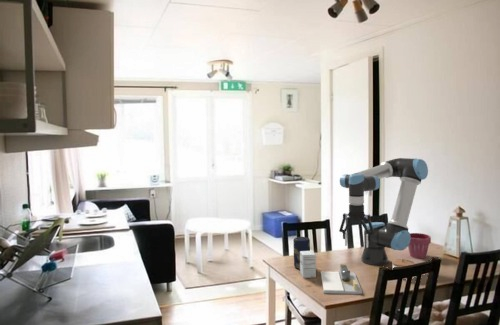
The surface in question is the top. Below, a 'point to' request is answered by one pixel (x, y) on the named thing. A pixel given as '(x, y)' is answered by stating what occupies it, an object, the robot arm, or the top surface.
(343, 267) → the arm
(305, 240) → the canister
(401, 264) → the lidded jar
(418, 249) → the plant pot
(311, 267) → the supplement box
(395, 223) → the robot arm
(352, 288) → the door board
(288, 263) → the top surface
